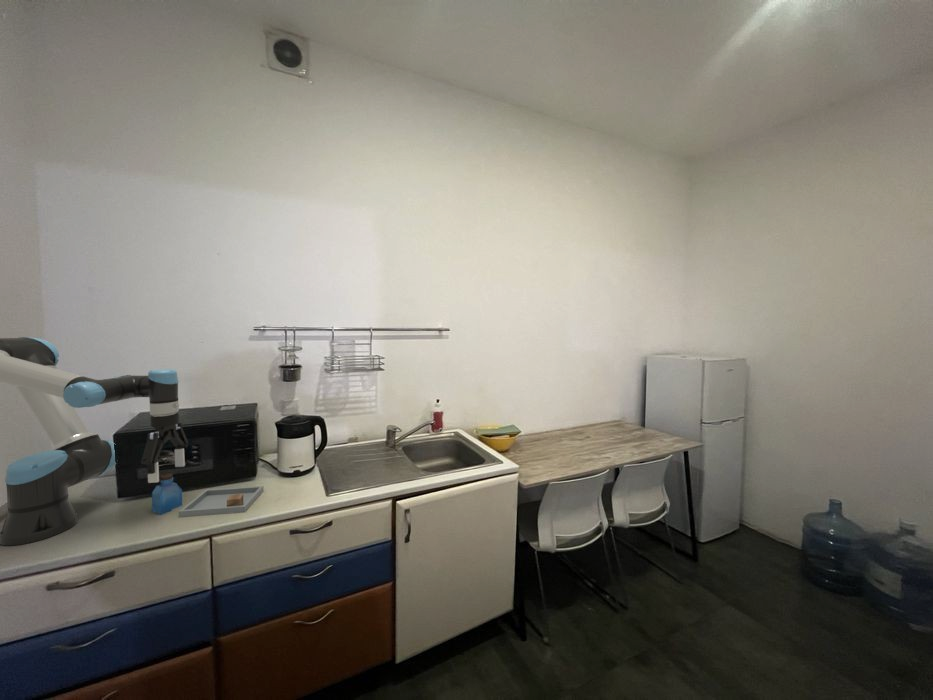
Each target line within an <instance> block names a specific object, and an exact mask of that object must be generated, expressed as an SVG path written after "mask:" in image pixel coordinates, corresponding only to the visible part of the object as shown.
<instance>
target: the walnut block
mask: <svg viewBox="0 0 933 700" xmlns="http://www.w3.org/2000/svg"><path fill="white" fill-rule="evenodd" d="M242 505H243V494H235V495H230V496H229V498H228V499H227V507H228V506H242Z"/></svg>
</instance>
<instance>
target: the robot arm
mask: <svg viewBox="0 0 933 700" xmlns="http://www.w3.org/2000/svg"><path fill="white" fill-rule="evenodd" d="M59 357H60V354H59V351H58V349H57V347H56V346H55V345H54V344H53V343H51V342H49V341H47V340H45V339H43V338H39V337H28V336H25V337H23V336H22V337H21V336H19V337H0V382H2V383H6V384H10V385H13V386H16V388H17V389H18V391H19V393H20V394H21V396H22V397H23V399H24V400H25V402H26V404H27V405H28V407H29V408H30V410H31V412H32V414H34V417H36V419H37V421H38V423H39V425H40V426H41V427H42V429H43V431H44V432H45V433H46V436H47V437H48V439H49V440H50V442H51V443H52V445H53V447H52V449H51V450H46V451H42V452H39V453H33V454H29V455H26V456H24V457H20V458H19V459H16V460H15V461H13V462H11V463H10V464H9V465H8V466H7V467H6V470H5V472H6V473H5V475H6V476H5V477H4V478H5V479H4V482H5V486H6V501H7V502H6V503H7V515H6V518H5V520H4V523H3V525H2V528H1V530H0V545H1V546H18V545H24V544H30V543H33V542H38V541H42V540H44V539H47V538H50V537H54V536H56V535H58V534H61V533H63V532H65V531H67V530H69V529H70V528H72V527H73V526H75V525H76V524H77V523H78V521H79V519H78V512H76V510H74V507H73V505H72V503H71V502H70V499H69V488H70V487H73V486H75V485H77V484H80V483H82V482H85V481H88V480H90V479H93V478H96V477H97V478H98V477H99V476H101V475H103V474H104V473H107V472H109V471H110V470H112V468H114V467H115V466H116V464H117V463H116V462H115V450H114V444H115V443H114V442H113V441H112V440H111V441H110V440H109V439H101V437H100V435H99V434H98V433H95V432H90V431H89V429H88V428H87V426H86V425H85V423H84V421H83V419H82V418H81V417H80V415H79V413H78V412H77V410H76V409H77V408H78V409H80V408H81V409H82V408H91V407H95V406H99V405H103V404H108V403H109V404H110V403H112V402H118V401H123V400H129V399H134V398H149V415H151V416H150V427H151V428H154V432H148V433H147V435H146V443H145V447H144V450H143V454H142V456H141V460H140V464H141V465H146V469H147V470H146V471H147V483H148V484H151V483H160V472H159V471H160V470H159V469H160V467H159V461H158V458H159V456H160V454H161V452H162V449H163V446H164V445H165V444H166V443H167V442H168V441H170V443H172V445H173V446H174V447H175V449H174V467H175V468H182V467H185V466H186V461H185V460H186V459H185V449H188V447H189V446H188V444H189V440H188V438H187V436H186V434H185V431H184V429H183V428H184V427H183V423H182V422H180V413H179V410H180V408H179V407H180V404H179V380H178V379H179V377H178V372H177V370H176V369H172V368H165V369H162V368H161V369H152V370H149V371H148V372H147V373H148V374H147V375H131V374H127V375H117V376H115V377H113V378H104V379H95V378H92V377H91V378H90V377H87V376H83V375H80V374H77V373H73V372H69V371H66V370H61V369H58V368H57V365H58V363H59V360H60V359H59ZM75 408H76V409H75Z"/></svg>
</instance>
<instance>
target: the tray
mask: <svg viewBox="0 0 933 700" xmlns="http://www.w3.org/2000/svg"><path fill="white" fill-rule="evenodd" d="M262 493H264V485H257V486H242V487H239V486H238V487H227V488H226V487H225V488H211V489H205V490H203V491H202V492H201V493H199V495H197V496H196V497H194V498H193V499H192V500H191V501H190V502H188V503H187V504H186V505H185V506H184V507H183V508H181V509H179V511H178V518H184V517H185V518H187V517H198V516H199V517H200V516H210V515H212V516H213V515H225V514H238V513H246V512H247V511H248V510H249V508H250V507H251V506H252V505H253V504H254V503H255V501H256V500H257V499H258V498H259V496H261V494H262ZM235 494H243V505H242V506H228V507H227V499H228V498H229V496H230V495H235Z"/></svg>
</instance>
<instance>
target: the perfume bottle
mask: <svg viewBox="0 0 933 700" xmlns="http://www.w3.org/2000/svg"><path fill="white" fill-rule="evenodd" d="M159 483H160V484H158V485H156V486H155V488H154V489H153V491H152V492H151V508H152V509H151V510H152V511H153V512H154V513H156V514H158V515H159V516H161V515H165V514H168V513H169V512H172V510H174V509H176V508H178V507H181V506H183V489H182V488H181V487H180V486H179V485H178V483H176V482H174V477H173V473H171V472H170V473H165V474H162V475H160V478H159Z"/></svg>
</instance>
